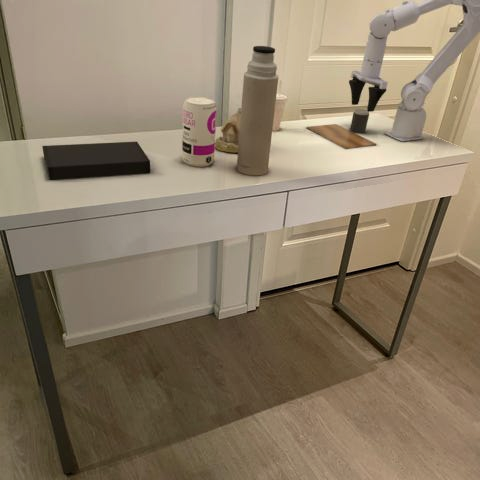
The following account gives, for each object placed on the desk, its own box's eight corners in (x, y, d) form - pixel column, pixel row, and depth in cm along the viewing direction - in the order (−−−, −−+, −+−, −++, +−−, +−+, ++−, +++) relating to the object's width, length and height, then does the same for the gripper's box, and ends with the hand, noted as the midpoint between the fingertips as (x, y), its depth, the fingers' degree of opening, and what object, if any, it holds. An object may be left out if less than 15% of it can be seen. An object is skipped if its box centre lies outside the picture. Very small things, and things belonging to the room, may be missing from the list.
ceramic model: (230, 135, 149) (232, 99, 143) (264, 143, 145) (268, 107, 139) (208, 148, 138) (209, 110, 132) (244, 157, 135) (248, 118, 129)
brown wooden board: (335, 125, 166) (336, 124, 166) (376, 145, 153) (376, 143, 152) (306, 128, 161) (306, 126, 161) (345, 148, 148) (345, 147, 147)
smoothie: (283, 132, 155) (290, 84, 146) (263, 131, 155) (268, 82, 146) (282, 126, 160) (288, 79, 151) (262, 124, 160) (267, 77, 151)
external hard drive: (150, 173, 121) (150, 160, 119) (49, 180, 113) (47, 167, 111) (137, 152, 131) (136, 141, 129) (43, 157, 123) (41, 145, 122)
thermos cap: (358, 128, 166) (362, 108, 162) (368, 132, 162) (373, 112, 159) (346, 129, 164) (350, 109, 160) (356, 134, 160) (360, 113, 156)
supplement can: (218, 159, 132) (221, 99, 123) (206, 169, 126) (209, 107, 116) (190, 154, 134) (191, 94, 125) (177, 163, 127) (177, 101, 118)
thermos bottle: (230, 167, 128) (238, 44, 111) (251, 161, 133) (263, 42, 116) (252, 177, 124) (264, 51, 107) (274, 171, 129) (289, 49, 112)
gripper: (347, 55, 153) (338, 102, 162) (379, 66, 144) (367, 115, 152) (364, 55, 156) (355, 101, 165) (397, 65, 147) (385, 113, 155)
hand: (362, 107), depth 159 cm, fingers open, 7 cm apart
